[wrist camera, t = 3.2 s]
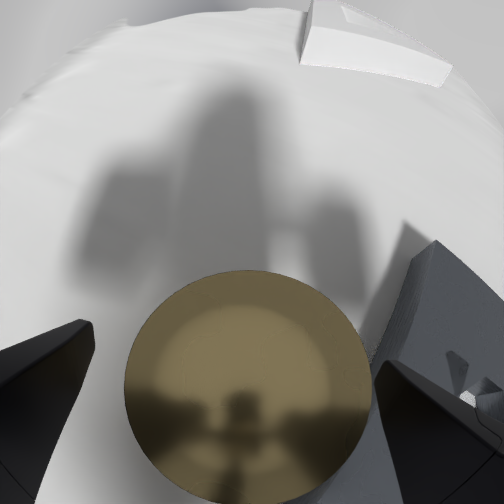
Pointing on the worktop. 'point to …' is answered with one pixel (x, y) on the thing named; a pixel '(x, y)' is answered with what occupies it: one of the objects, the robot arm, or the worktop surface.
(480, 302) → the grey octagonal hole plate
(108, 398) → the worktop surface
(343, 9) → the triangle block
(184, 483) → the cylinder
